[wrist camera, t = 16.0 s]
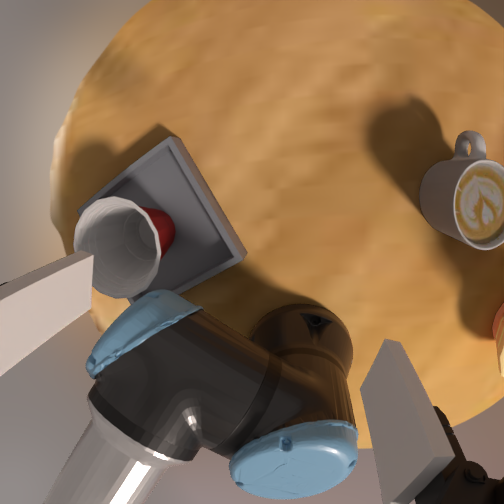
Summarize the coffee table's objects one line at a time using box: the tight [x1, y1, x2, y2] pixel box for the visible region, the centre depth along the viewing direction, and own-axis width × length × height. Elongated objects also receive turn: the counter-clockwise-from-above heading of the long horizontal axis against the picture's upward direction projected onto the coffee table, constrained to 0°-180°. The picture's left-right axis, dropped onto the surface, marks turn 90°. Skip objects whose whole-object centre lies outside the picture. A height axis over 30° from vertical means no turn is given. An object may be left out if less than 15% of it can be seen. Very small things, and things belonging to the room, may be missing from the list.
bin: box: [77, 136, 247, 305], centre depth 41 cm, size 18×18×4 cm
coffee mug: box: [419, 131, 504, 250], centre depth 31 cm, size 13×10×10 cm
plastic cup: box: [73, 196, 176, 298], centre depth 36 cm, size 11×11×12 cm
